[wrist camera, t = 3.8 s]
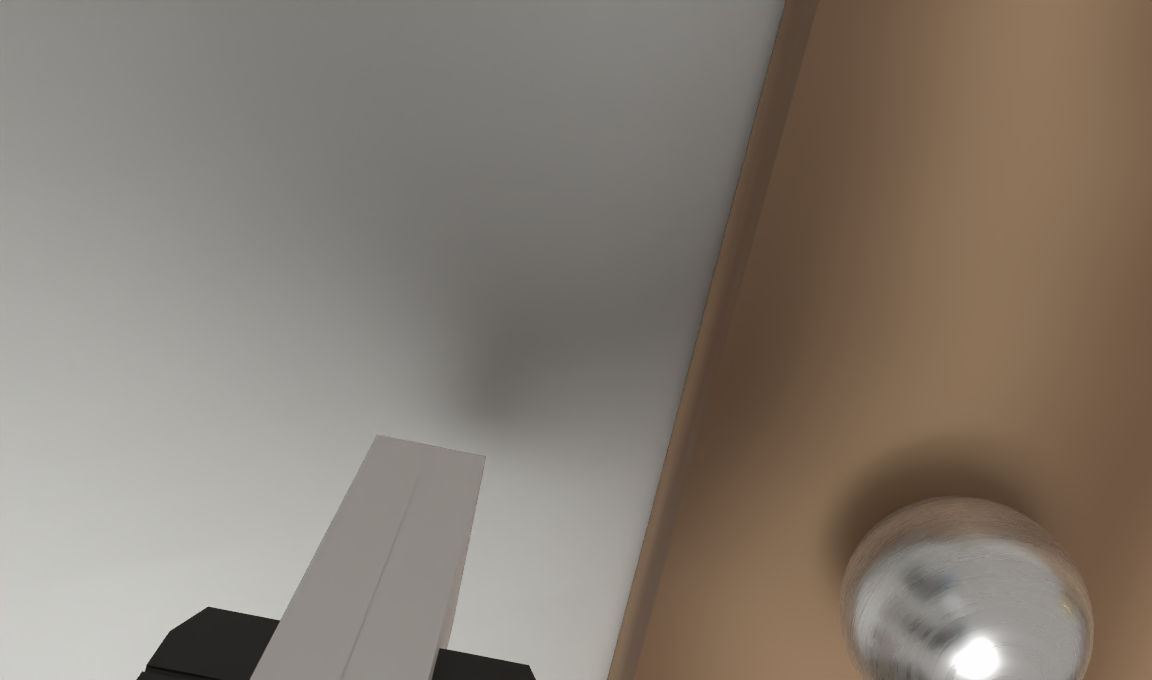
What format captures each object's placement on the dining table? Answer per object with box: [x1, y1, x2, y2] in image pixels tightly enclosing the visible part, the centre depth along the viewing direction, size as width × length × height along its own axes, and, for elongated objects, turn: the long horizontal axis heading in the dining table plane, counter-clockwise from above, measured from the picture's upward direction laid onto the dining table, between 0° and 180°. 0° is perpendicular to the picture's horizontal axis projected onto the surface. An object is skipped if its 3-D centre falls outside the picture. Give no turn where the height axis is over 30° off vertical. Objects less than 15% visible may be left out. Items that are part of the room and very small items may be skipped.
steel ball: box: [839, 496, 1094, 680], centre depth 15 cm, size 3×3×3 cm
